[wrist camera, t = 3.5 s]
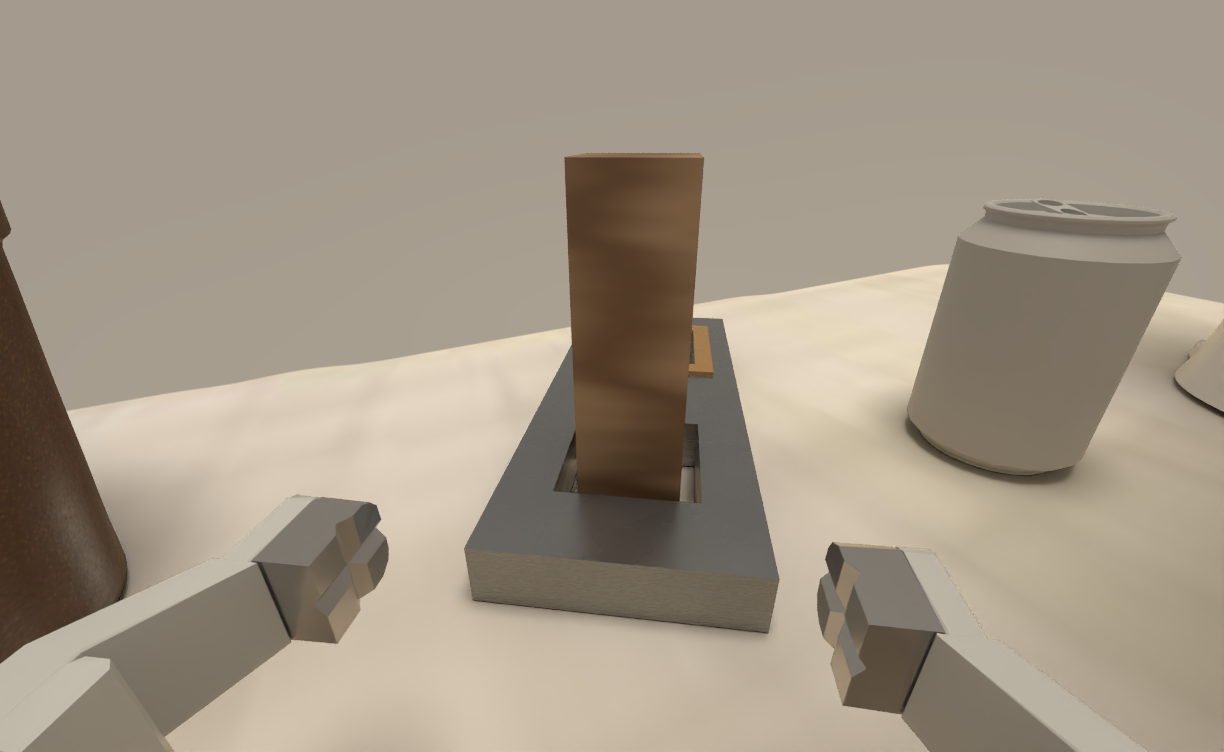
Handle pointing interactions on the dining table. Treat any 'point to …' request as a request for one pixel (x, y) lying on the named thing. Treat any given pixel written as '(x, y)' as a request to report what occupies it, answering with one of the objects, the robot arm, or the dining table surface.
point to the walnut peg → (631, 316)
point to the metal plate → (634, 518)
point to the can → (1038, 329)
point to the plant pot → (44, 494)
